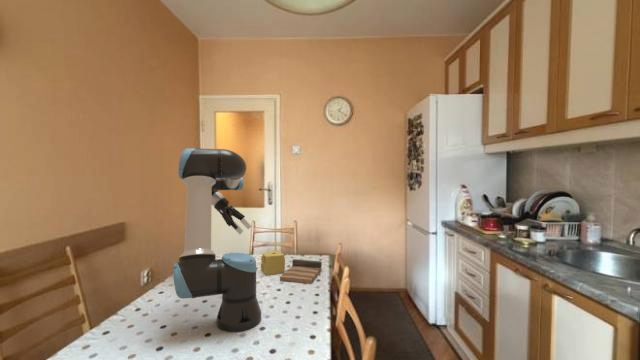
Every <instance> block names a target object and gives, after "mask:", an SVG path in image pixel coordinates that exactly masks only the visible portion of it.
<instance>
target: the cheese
mask: <svg viewBox="0 0 640 360" xmlns="http://www.w3.org/2000/svg"><path fill="white" fill-rule="evenodd" d="M260 259H261V263H260V270H261V271H262V272H263V274H264V275H265V276H270V275H272V276H273V275H277V274H278V275H279V274H284V273H285V271H286V270H285V269H286V268H285V267H286V259H285V254H284V253H282V252H281V251H280V250H269V251H267V252H266V253H263V254H262V255H261V258H260Z"/></svg>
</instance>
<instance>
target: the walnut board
mask: <svg viewBox="0 0 640 360" xmlns="http://www.w3.org/2000/svg"><path fill="white" fill-rule="evenodd" d="M322 266H323V265H322V260H321V261H319V260H308V259H307V260H306V259H298V258H297V259H295V258H294V259H292V264H291V266H290V267H289V268H288V269H287V270H285V271H284V273H281V275H280V277H279V281H280V282H289V283H298V284H309V285H311V284H313V283H314V281H315V280H316V279H317V277H318V276H319V274H321V272H322V270H323V269H322V268H323V267H322Z"/></svg>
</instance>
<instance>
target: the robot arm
mask: <svg viewBox="0 0 640 360" xmlns="http://www.w3.org/2000/svg"><path fill="white" fill-rule="evenodd" d="M177 172H178V173H177V174H178V178H179V179H181V180H182V183H183V184H184V185H185V186H186V201H185V202H186V203H185V227H184V228H185V229H184V231H185V232H184V248H183V249H184V250H183V253H182V254H181V255H180V256H179V257H178V258H179V259H178V262H175V263H174V264H173V271H172V272H173V284H174V290H175V293H176V297H178V298H179V299H194V298H201V297H202V298H203V297H210V296H218V295H221V304H220V307H219V309H218V312H217V314H216V326H217V327H218V328H219V329H220V330H222V331H226V332H232V333H233V332H241V331H242V332H243V331H247V330H249V329H252V328H254V327H256V326H257V325H259V324H260V322H261V321H262V310H261V306H260V305H259V304H260V303H259V301H258V299H257V272H258V269H257V260H256V258H255V257H254V256H253V255H250V254H248V253H244V252H228V253H224V254H223V255H222V256H221V258H220V259H217V258H216V253H215V252H214V251H213V250H212V207H213V208H214V209H215V211H217V212H218V213H219V214H220V215H221V217H222V218H223V221H225V223H226V225H227V226H228V227H231V228H233V230H235V231H236V232H237V233H238V235H241V234H242V233H243V232H244V229H242V227H241V226H240V225H239V224H238V223H237V222H236V221H234V218H236V219H237V220H239V222H240V223H241V224H242V225H243V226H244V228H246V229H247V230H249V229H251V227H252V224H251V223H249V221H248V220H247V219H246V218H245V217H246V216H245V215H244V214H243V213H242V212H240V211H239V210H237V209H236V208H235V207H234V206H232V205H230V206H229V203H230V201H229V200H228V199H227V198H226V197H225V196H224V195H223V193H221V192H220V191H240V190H241V191H242V190H243V188H244V176H245V174H246V173H247V163H246V162H245V160H244V158H243V157H242V156H241V155H240V154H238V153H236V152H235V151H233V150H229V149H227V148H226V149H225V148H197V147H193V148H192V147H191V148H188V147H187V148H185V149H183V150H182V152H181V154H180V158H179V161H178V171H177ZM233 217H234V218H233Z"/></svg>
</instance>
